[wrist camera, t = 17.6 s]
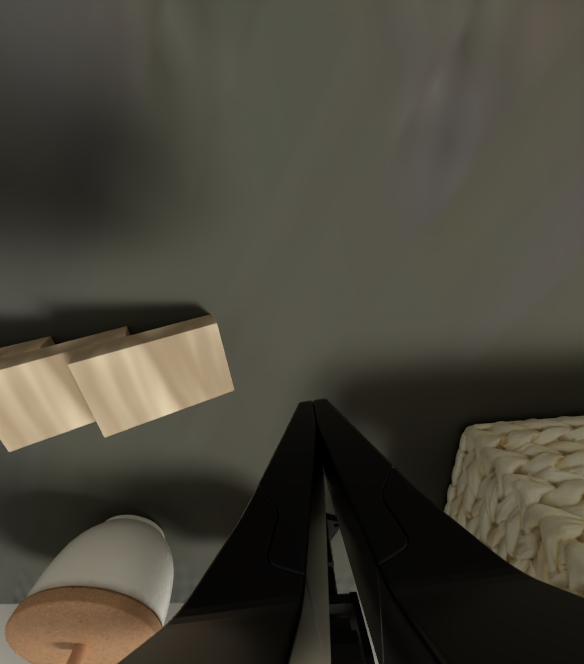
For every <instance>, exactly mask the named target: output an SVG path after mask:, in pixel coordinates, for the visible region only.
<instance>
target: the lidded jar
mask: <svg viewBox="0 0 584 664" xmlns="http://www.w3.org/2000/svg"><path fill="white" fill-rule="evenodd" d="M173 574H174V572H173V559H172V554H171V551H170V548H169V546H168V544H167V542H166V540H165V536H164V533H163V531H162V529H161V528H160V527H159V526H158V525H157V524H156V523H155V522H153V521H151V520H149V519H147V518H144V517H141V516H137V515H118V516H114V517H111V518H109V519H107V520H106V521H105V522H104V523H101V524H98V525H96V526H94V527H92V528H90V529H88V530H86V531H85V532H83V533H82V534H80V535H79V536H77V537H76V538H75V539H73V540H72V541H71V542H70V543H69V544H68V545H66V546H65V547H64V548H63V550H62V551H61V552H60V553H59V554H58V555H57V556H56V557H55V558H54V559H53V560H52V562H51V563H50V564H49V565H48V567H47V568H46V569H45V570H44V572H43V573H42V574H41V575H40V577H39V578H38V580H37V581H36V583H35V584H34V585H33V587H32V588H31V590H30V591H29V593H28V594H27V596H26V597H25V599H24V600H23V601H22V602H21V603H20V604H19V605H18V607H17V608H16V609H15V611H14V612H13V614H12V615H11V617H10V618H9V620H8V622H7V624H6V628H5V637H6V641H7V642H8V644H9V646H10V647H11V648H12V649H13V651H14V652H15V653H17V654H18V655H19V656H21V657H22V658H24V659H25V660H27V661H28V662H30V663H32V664H117V663H119V662H120V661H121V660H122V659H124V658H125V657H126V656H128V655H129V654H130V653H131V652H133V651H134V650H135V649H136V648H138V647H139V646H140V645H142V644H143V643H144V642H145V641H147V640H148V639H149V638H150V637H152V636H153V635H154V634H156V633H157V632H158V631H159V630H161V629H162V628H163V626H164V623H165V619H166V615H167V611H168V607H169V603H170V597H171V592H172V585H173Z"/></svg>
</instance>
